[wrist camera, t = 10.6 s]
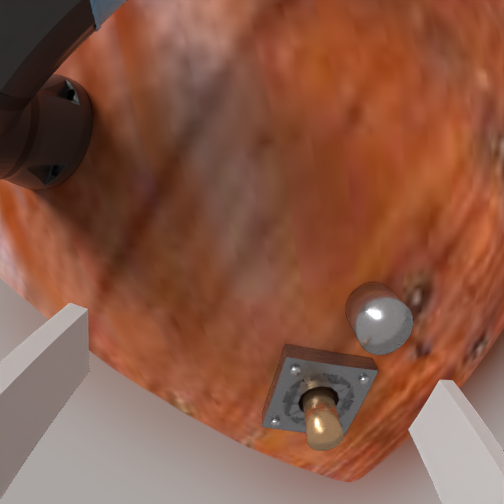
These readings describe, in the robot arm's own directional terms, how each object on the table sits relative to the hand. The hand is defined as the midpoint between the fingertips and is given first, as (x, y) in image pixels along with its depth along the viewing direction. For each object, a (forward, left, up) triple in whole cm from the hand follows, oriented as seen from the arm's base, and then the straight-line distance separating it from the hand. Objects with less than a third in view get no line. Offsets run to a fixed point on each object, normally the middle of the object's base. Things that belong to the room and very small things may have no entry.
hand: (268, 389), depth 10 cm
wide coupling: (+14, -5, -26) cm, 30 cm away
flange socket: (+11, -18, -26) cm, 34 cm away
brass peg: (+11, -18, -26) cm, 34 cm away
